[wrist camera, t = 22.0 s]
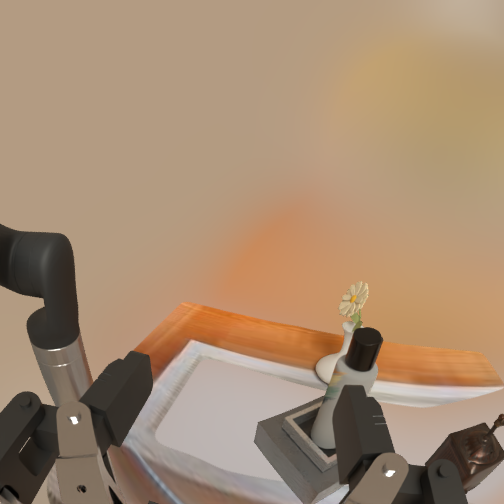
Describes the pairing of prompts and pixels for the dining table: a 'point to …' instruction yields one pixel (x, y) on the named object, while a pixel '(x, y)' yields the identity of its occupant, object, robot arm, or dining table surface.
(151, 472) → the dining table surface
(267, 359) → the dining table surface
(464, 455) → the bronze sculpture
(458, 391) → the dining table surface
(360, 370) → the lotion bottle
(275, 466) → the gray square holder
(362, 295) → the flower in vase
